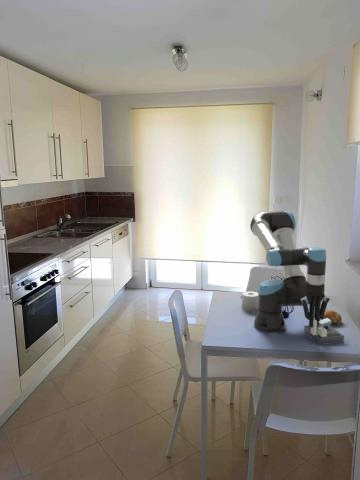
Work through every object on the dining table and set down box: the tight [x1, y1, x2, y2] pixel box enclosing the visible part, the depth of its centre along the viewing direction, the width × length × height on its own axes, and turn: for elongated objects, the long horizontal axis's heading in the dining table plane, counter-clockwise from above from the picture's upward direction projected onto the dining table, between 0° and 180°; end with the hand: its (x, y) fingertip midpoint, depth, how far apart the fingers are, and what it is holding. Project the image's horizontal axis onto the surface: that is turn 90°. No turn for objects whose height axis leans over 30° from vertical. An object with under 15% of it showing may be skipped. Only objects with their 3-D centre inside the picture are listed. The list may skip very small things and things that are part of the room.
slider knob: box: [318, 326, 327, 337], centre depth 171 cm, size 2×4×4 cm, turn 9°
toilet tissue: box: [240, 290, 258, 312], centre depth 216 cm, size 9×13×9 cm
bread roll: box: [320, 309, 342, 327], centre depth 194 cm, size 10×10×8 cm
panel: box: [303, 324, 345, 345], centre depth 177 cm, size 12×14×4 cm
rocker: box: [319, 318, 332, 327], centre depth 181 cm, size 5×4×2 cm
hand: (313, 333), depth 170 cm, fingers closed
